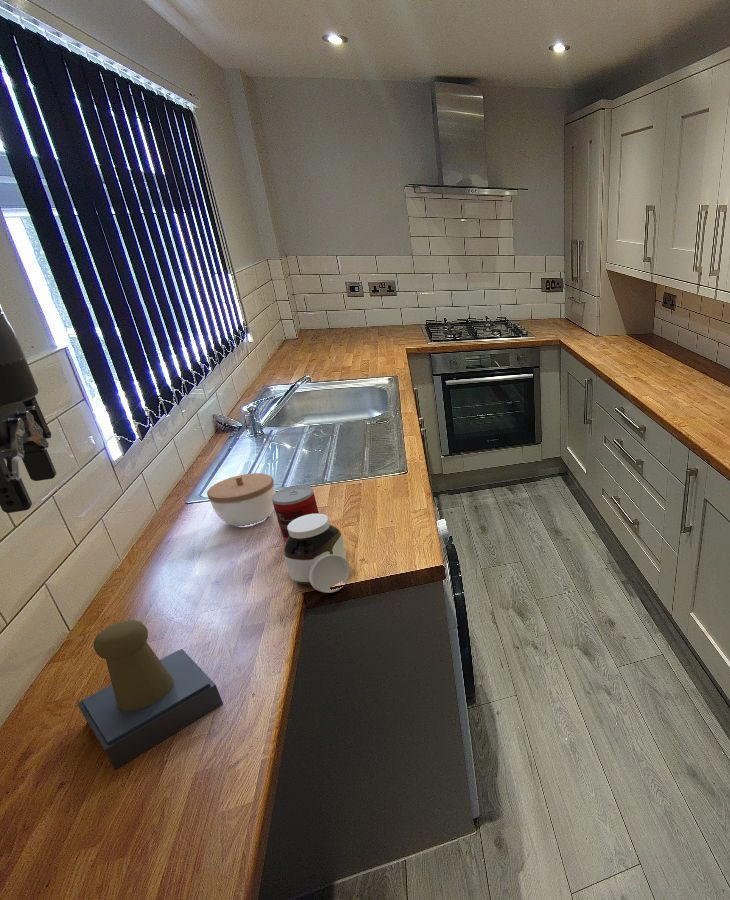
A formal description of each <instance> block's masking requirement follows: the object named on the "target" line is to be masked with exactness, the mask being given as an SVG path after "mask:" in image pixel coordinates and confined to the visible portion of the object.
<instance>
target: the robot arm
mask: <svg viewBox="0 0 730 900" xmlns="http://www.w3.org/2000/svg"><path fill="white" fill-rule="evenodd" d="M38 394H39V388H38V385H37V384H36V380H35V379H34V375H33V373H32V371H31V369H30V365H29V363H28V360H27V358H26V356H25V353H24V351H23V348H22V346H21V343H20V341H19V338H18V336H17V334H16V331H15V330H14V328H13V326H12V324H11V323H10V321H9V320H8V318H7V316H6V314H5V312H4V310H3V307H2V305H1V304H0V508H1V511H2V512H4V513H6V514H13V513H19V512H24V511H28V510H29V509H31V507H32V506H33V502H32V499H31V498H30V495H29V493H28V490H27V488H26V486H25V484H24V482H23V479H22V477H21V476H20V475H21V474H20V467H19V461H22V463H23V465H24V467H25V469H26V472H27V474H28V476H29V478H30V480H31V481H33V482H41V481H47V480H53V479H54V478H55V477H56V476H57V473H58V472H57V470H56V468H55V466H54V464H53V461H52V458H51V456H50V454H49V451H48V449H49V441H48V439H52V432H51V430H50V428H49V426H48V424H47V421H46V419H45V417H44V414H43V412H42V409H41V408H40V405H39V402H38V400H37V398H36V396H37V395H38Z"/></svg>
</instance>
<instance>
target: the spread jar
mask: <svg viewBox="0 0 730 900" xmlns="http://www.w3.org/2000/svg"><path fill="white" fill-rule="evenodd" d="M287 529H288V532H289V535H290V536H289V537H288V539H287V541H286V543H284V547H283V557H284V562H285V564H286V568H287V569H286V570H287V572H288V575H289V577H290V578H291V579H292V580H293V581H294V582H296V583H298V584H302V585H306V586H311V587H312V588H313V589H314V590H315V591H317V592H321V593H324V594H325V593H326V594H329V593H330V594H331V593H336V592H338V591H339V590H341V589H343V587H344V586H345V585H346V584H347V583H348V581H349V578H350V575H351V568H350V564H349V562H348V561H347V551H346V546H345V542H344V537H343V535H342V532H341V530H340V529H339V528H338V527H337V526H335V525H332V524H330V520H329V517H328V515H326V514H324V513H319V514H308V515H304V516H301V517H299V518H296V519H294V520H293V521H291V522H290V523H289V524H288V526H287ZM341 581H343V583H345V584H344V586H342V587H340V588H336V589H332V590H331V589H330V587H332V586H333V585H335V584H337V583H339V582H341Z"/></svg>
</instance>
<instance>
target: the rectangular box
mask: <svg viewBox="0 0 730 900" xmlns="http://www.w3.org/2000/svg"><path fill="white" fill-rule="evenodd" d="M159 660H160V661H161V663H162V664H163V666H164V667H165V668H166V670H167V671H168V673H169V674H170V675H171V677H172V678H173V680H174V685H173V686H172V688H171V690H170V691H169V692H168V693H167V694H166V695H165V696H164V697H163V698H161V699H160V700H159V701H157V702H155V703H153V704H151V705H150V706H147V707H145V708H142V709H139V710H134V711H123V710H120V709H119V708H118V706H117V703H116V699H115V695H114V691H113V687H112V684H110V685H108V686H106V687H104V688H102V689H100V690H99V691H96V692H95V693H93V694H91V695H88V696H87V697H85V698H83V699H81V700H80V701H78V702H77V703H76V704H77V707H78V708H79V710H80V712H81V714H82V715H83V718H84V719H85V721H86V723H87V724H88V726H89V728H90V730H91V731H92V733H93V735H94V736H95V738H96V740H97V742H98V743H99V745H100V747H101V748H102V750H103V752H104V753H105V755H106V756H107V758H108V760H109V762H110V763H111V765H112V767H113V768H114V770H115V771H116V770H118V769H119V768H121V767H123V766H124V765H126V764H127V763H129V762H131V761H133V760H134V759H136V758H137V757H139V756H141V755H143V753H145V752H147V751H149V750H151V749H152V748H153V747H155V746H157V745H158V744H160V743H162V742H164V741H165V740H166V739H168V738H170V737H171V736H173V735H175V734H177V733H178V732H180V731H181V730H183V729H184V728H186V727H188V726H189V725H191V724H193V723H194V722H196V721H197V720H199V719H201V718H202V717H204V716H206V715H207V714H209V713H211V712H212V711H214V710H215V709H217V708H218V707H220V706H222V705H223V704H224V702H223V700H222V697H221V694H220V692H219V689H218V687H217V684H216V683H215V682H214V681H213V680H212V679H211V678H210V676H208V674H207V673H206V672H204V671H203V669H202V668H201V667H200V666H199V665H198V664H197V663H196V662H195V660H193V659H192V657H191V656H189V654H188V653H187V652H186V651H185V650H184V649H183V648H180V649H178V650H176V651H174V652H172V653H170V654H168V655H166V656H164V657H163V658H159Z"/></svg>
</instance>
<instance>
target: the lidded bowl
mask: <svg viewBox="0 0 730 900" xmlns="http://www.w3.org/2000/svg"><path fill="white" fill-rule="evenodd" d="M276 492H277V490H276V487H275V481H274V477H273V476H271V475H270V474H267V473H261V472H255V473H254V472H253V473H244V474H239V475H235V476H231V477H229V478H226V479H222V480H221V481H218V482H216V483H215V484H213V485H211V486H210V487H209V488H208V489H207V491H206V495H207V498H208V500H209V501H210V505H211V508H212V509H213V511H214V513H215V514H216V516H217V517H218V518H219V519H220V520H221V521H223V522H224V523H226V524H228V525H231V526H233V525H234V526H245V525H250V524H254V523H257V522H259V521H262V520H264V519H265V518H267V517H268V516H269V517H270V515H271V514H272V513H273V511H275V509H274V506H273V502H272V496H273V495H274V494H275V493H276ZM234 526H233V527H234Z"/></svg>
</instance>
